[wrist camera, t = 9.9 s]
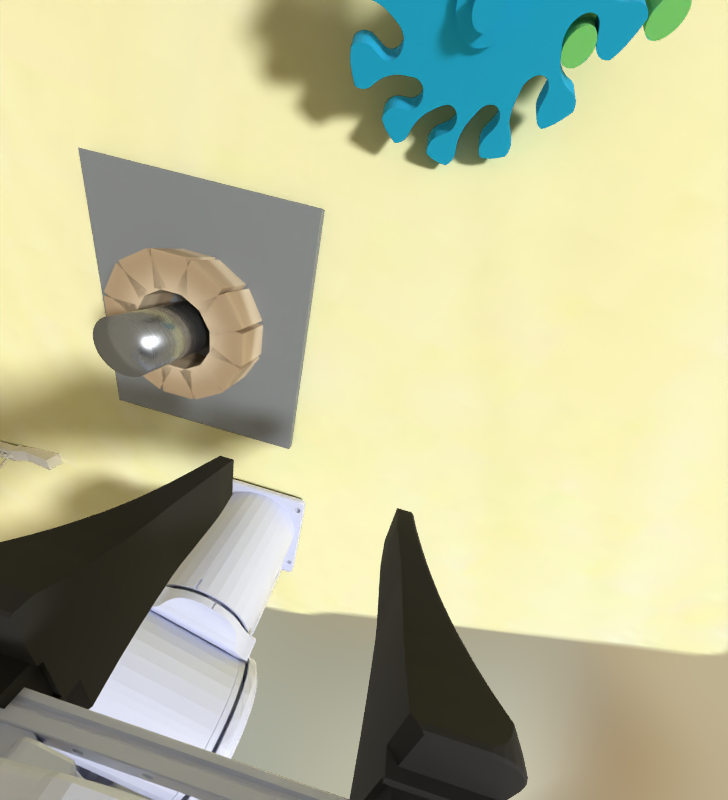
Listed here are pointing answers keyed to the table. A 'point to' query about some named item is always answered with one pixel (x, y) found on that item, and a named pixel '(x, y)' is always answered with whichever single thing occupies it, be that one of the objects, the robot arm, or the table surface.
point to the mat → (242, 253)
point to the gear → (497, 58)
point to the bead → (215, 299)
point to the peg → (150, 337)
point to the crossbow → (29, 455)
